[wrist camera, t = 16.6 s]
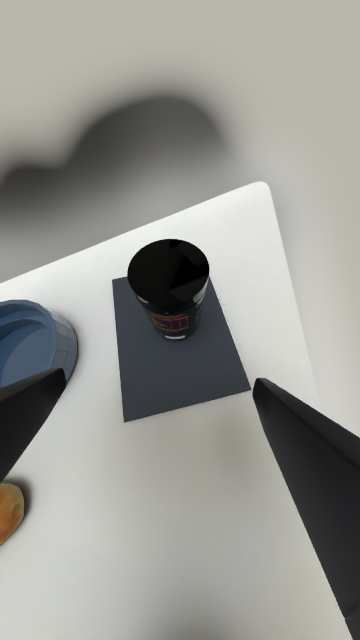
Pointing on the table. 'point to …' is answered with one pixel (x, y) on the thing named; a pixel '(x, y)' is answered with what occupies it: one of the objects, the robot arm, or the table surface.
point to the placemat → (173, 358)
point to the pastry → (10, 510)
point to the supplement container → (170, 286)
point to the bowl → (33, 341)
